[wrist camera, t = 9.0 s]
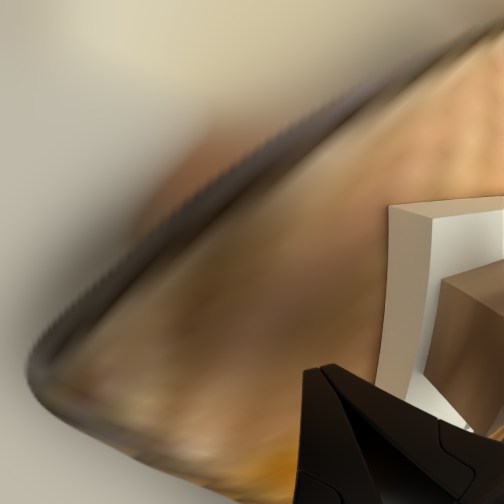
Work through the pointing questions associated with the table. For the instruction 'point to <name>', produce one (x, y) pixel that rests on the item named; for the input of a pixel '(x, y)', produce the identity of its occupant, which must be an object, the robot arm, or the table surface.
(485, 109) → the table surface
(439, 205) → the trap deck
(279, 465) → the table surface
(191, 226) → the table surface
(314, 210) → the table surface
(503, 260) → the walnut block
